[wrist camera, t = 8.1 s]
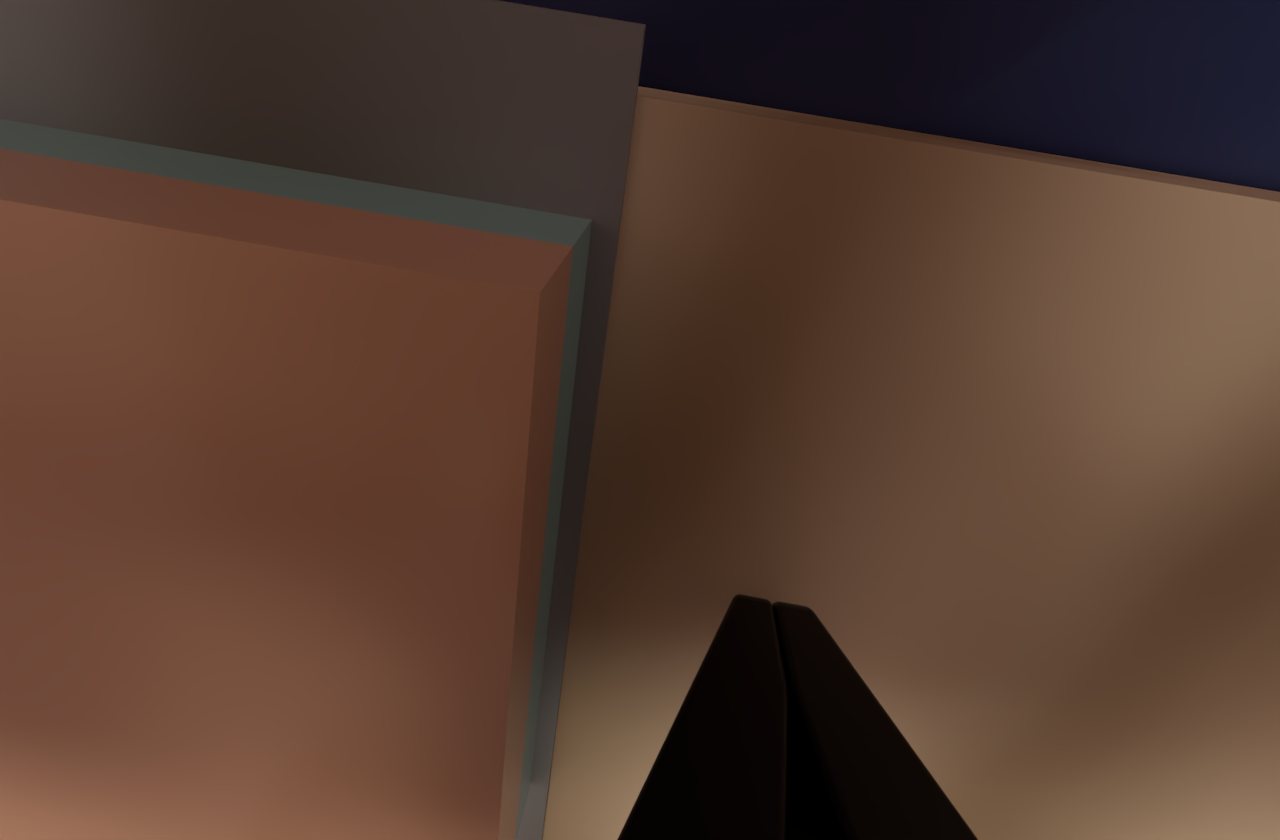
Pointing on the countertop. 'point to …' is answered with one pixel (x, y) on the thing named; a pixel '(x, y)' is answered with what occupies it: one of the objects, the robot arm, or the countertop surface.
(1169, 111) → the countertop surface
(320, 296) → the tile
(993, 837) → the board
